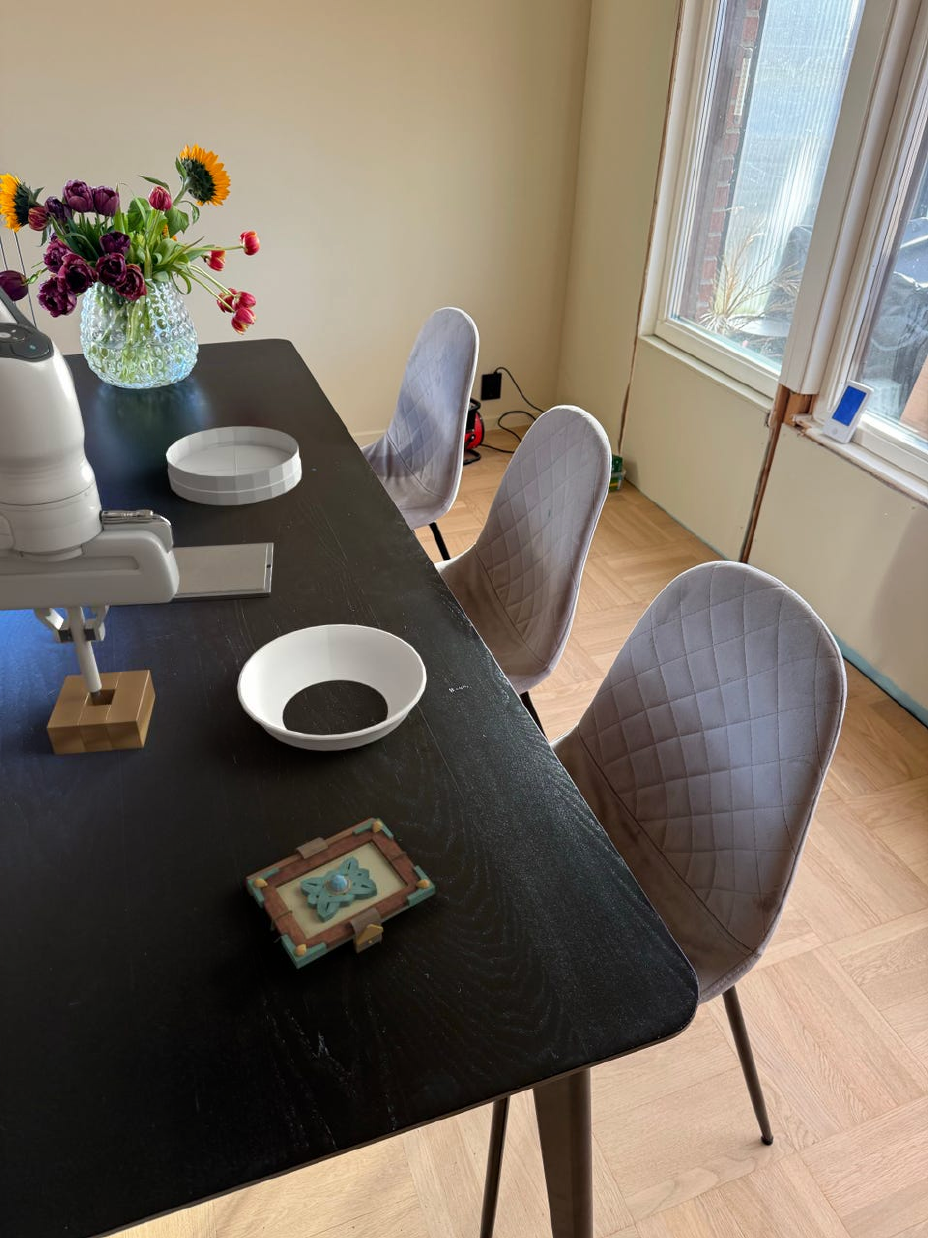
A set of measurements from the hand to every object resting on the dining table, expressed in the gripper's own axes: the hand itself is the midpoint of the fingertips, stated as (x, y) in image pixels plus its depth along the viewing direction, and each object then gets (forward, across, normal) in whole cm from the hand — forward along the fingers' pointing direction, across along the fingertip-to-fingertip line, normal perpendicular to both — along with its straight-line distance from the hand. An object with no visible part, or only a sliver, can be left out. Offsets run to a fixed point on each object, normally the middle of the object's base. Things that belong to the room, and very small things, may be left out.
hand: (81, 639), depth 85 cm
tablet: (+12, -6, -33) cm, 36 cm away
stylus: (+7, 0, 0) cm, 7 cm away
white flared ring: (+12, -24, +1) cm, 27 cm away
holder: (+12, 0, 0) cm, 12 cm away
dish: (+13, -9, -66) cm, 68 cm away
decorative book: (+12, -23, +28) cm, 38 cm away
